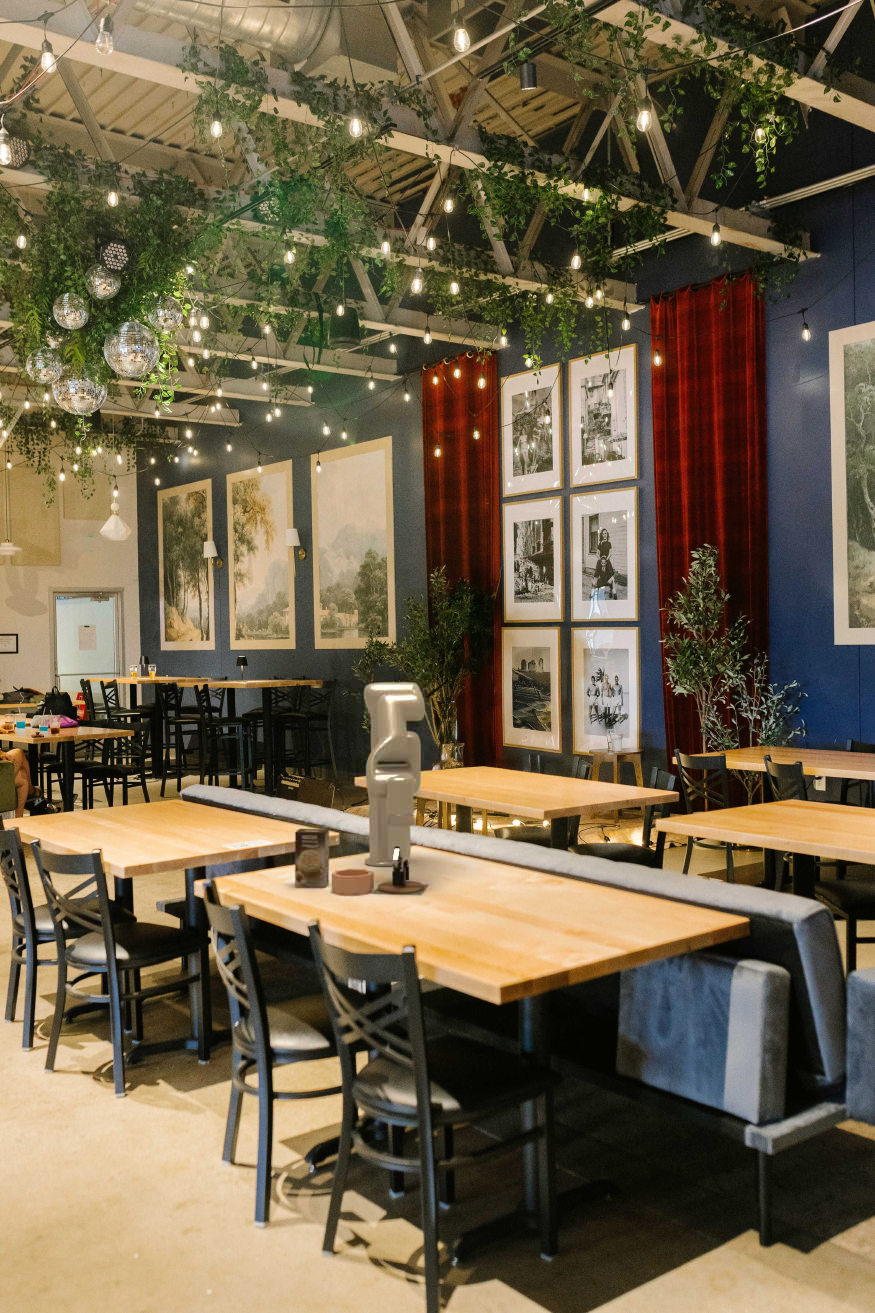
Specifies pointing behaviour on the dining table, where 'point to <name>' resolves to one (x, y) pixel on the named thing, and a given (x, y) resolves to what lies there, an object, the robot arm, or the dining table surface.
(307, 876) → the coffee box
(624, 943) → the dining table surface
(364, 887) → the bowl
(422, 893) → the mat
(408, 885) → the lid
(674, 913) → the dining table surface
